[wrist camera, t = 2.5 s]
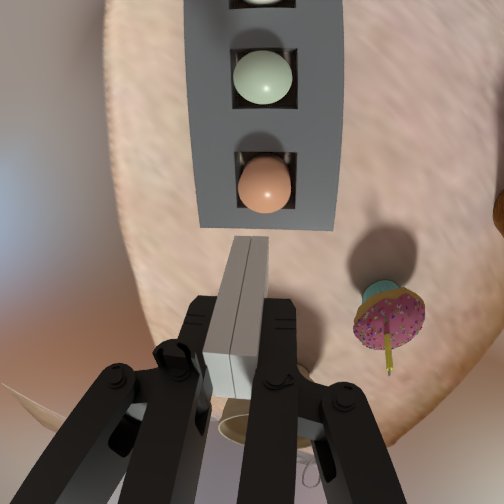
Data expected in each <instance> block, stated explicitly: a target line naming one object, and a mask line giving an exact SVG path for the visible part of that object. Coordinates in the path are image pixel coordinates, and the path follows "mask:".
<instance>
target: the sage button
mask: <svg viewBox="0 0 504 504" xmlns="http://www.w3.org/2000/svg"><path fill="white" fill-rule="evenodd" d="M233 80H234V85H235V87H236V89H237V91H238V92H239V94H240V95H241V96H242V97H244V98H245V99H246V100H248V101H250V102H253V103H256V104H270V103H273V102H276V101H278V100H280V99H281V98H282V97H284V96H285V95H286V93H287V92H288V91H289V89H290V86H291V83H292V72H291V69H290V66H289V65H288V63H287V62H286V61H285V60H284V59H283V58H282V57H281V56H280V55H278V54H276V53H274V52H270V51H255V52H251V53H249V54H247V55H246V56H244V57H243V58H242V59H241V60H240V61H239V62H238V63H237V65H236V67H235V70H234V74H233Z"/></svg>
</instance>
